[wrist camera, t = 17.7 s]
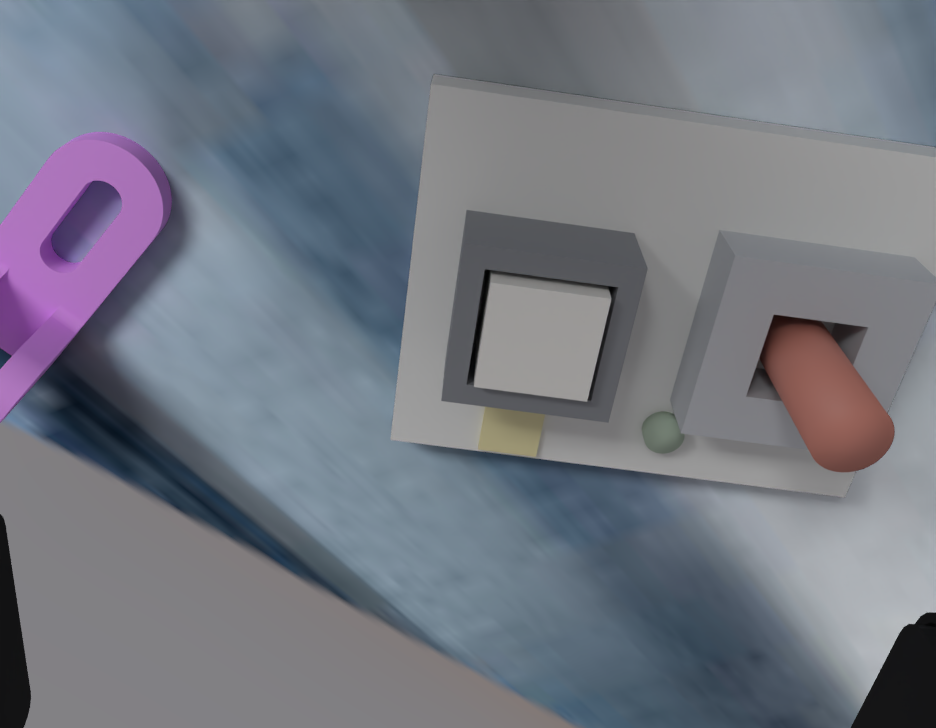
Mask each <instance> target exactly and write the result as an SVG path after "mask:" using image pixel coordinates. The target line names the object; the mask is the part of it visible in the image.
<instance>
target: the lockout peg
mask: <svg viewBox="0 0 936 728" xmlns="http://www.w3.org/2000/svg"><path fill="white" fill-rule="evenodd" d="M759 359H760V361H761V363H762V365H763V366H764V368H765V370H766V372H767V374H768V376H769V378H770V379H771V381H772V383H773V385H774V387H775V389H776V391H777V392H778V394H779V396H780V398H781V400H782V402H783V403H784V405H785V407H786V409H787V411H788V413H789V415H790V416H791V418H792V420H793V422H794V424H795V426H796V428H797V429H798V431H799V433H800V435H801V437H802V439H803V441H804V442H805V444H806V446H807V448H808V450H809V452H810V454H811V455H812V457H813V459H814V460H815V461H816V462H817V463H818V464H819V465H820V466H822V467H823V468H825V469H827V470H831V471H835V472H853V471H858V470H861V469H864V468H866V467H868V466H870V465H872V464H874V463H875V462H877V461H878V460H879V459H880V458H882V457H883V456H884V455H885V453H886V452H887V451H888V449H889V448H890V446H891V444H892V442H893V439H894V425H893V422H892V420H891V418H890V416H889V415H888V414H887V412H886V411H885V409H884V408H883V407H882V405H881V404H880V402H879V401H878V400H877V398H876V397H875V395H874V394H873V393H872V391H871V390H870V388H869V387H868V386H867V384H866V383H865V381H864V380H863V379H862V377H861V376H860V374H859V373H858V372H857V370H856V369H855V368H854V366H853V365H852V363H851V362H850V361H849V359H848V358H847V356H846V355H845V354H844V352H843V351H842V349H841V348H840V347H839V345H838V344H837V342H836V341H835V340H834V338H833V337H832V335H831V334H830V333H829V331H828V330H827V328H826V327H825V326H824V324H823V323H822V321H818V320H811V319H804V318H796V317H789V316H782V315H774V316H773V318H772V321H771V324H770V327H769V330H768V333H767V336H766V339H765V342H764V345H763V348H762V351H761V354H760V357H759Z"/></svg>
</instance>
